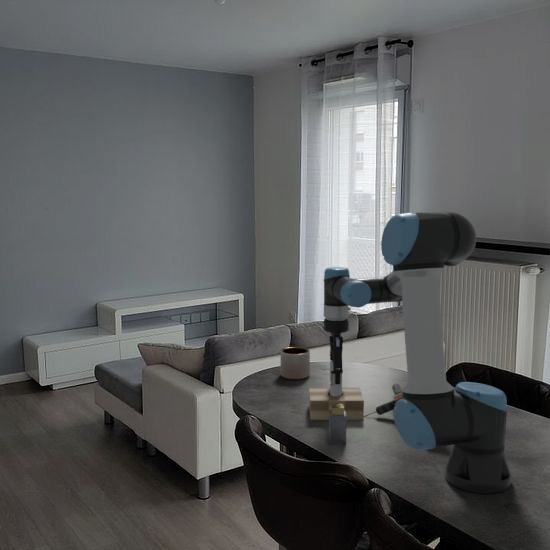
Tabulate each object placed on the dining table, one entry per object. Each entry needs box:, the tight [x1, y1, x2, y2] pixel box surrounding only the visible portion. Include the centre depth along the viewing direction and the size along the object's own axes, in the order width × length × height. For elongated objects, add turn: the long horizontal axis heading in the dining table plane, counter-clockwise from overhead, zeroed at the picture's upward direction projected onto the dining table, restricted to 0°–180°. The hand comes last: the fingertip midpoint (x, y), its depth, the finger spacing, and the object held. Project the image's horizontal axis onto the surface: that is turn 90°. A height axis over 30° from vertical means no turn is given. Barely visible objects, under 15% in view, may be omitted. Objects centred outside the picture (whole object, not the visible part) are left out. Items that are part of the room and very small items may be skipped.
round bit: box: [329, 374, 342, 397], centre depth 199 cm, size 4×4×12 cm
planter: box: [279, 346, 311, 381], centre depth 237 cm, size 11×11×10 cm
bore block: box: [308, 387, 365, 421], centre depth 200 cm, size 12×16×6 cm
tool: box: [364, 383, 403, 418], centre depth 193 cm, size 4×27×30 cm
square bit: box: [328, 404, 347, 445], centre depth 178 cm, size 4×4×10 cm
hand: (335, 387), depth 199 cm, fingers open, 11 cm apart
